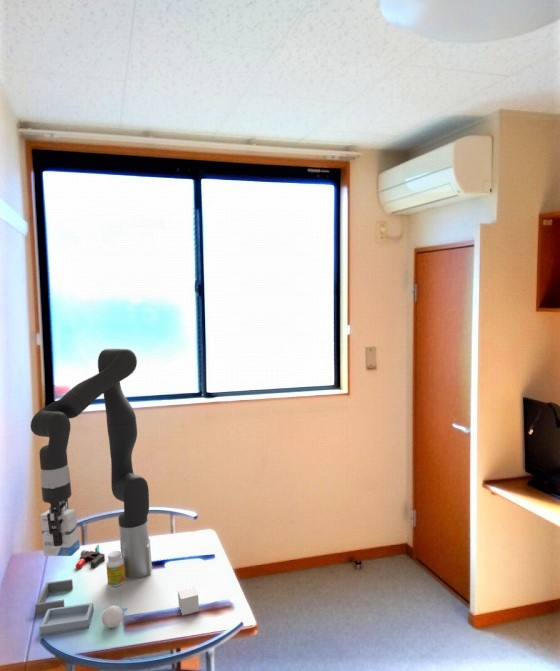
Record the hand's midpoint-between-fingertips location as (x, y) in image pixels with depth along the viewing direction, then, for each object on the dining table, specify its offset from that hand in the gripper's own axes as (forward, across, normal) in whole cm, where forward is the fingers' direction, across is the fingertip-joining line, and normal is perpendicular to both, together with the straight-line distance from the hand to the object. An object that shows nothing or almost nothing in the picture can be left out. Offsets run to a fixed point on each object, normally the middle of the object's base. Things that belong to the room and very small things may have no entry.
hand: (61, 539), depth 150 cm
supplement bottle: (+25, -19, +11) cm, 33 cm away
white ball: (+25, +4, +13) cm, 28 cm away
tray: (+24, 0, 0) cm, 24 cm away
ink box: (+4, 0, 0) cm, 4 cm away
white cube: (+25, +2, +34) cm, 42 cm away
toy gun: (+25, -36, -2) cm, 44 cm away
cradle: (+24, -13, -6) cm, 28 cm away
